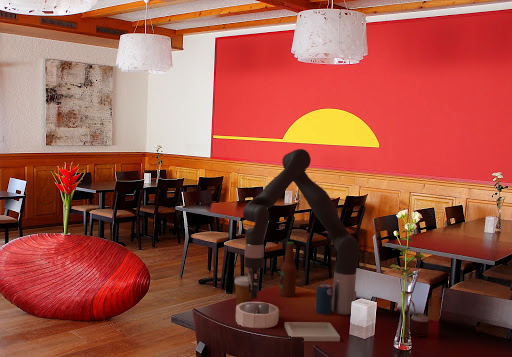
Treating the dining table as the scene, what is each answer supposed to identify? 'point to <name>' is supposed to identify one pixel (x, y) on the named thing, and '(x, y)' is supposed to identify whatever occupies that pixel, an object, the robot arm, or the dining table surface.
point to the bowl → (257, 317)
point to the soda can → (324, 299)
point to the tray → (312, 331)
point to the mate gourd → (419, 323)
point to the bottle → (288, 273)
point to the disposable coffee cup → (242, 290)
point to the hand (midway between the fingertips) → (252, 295)
